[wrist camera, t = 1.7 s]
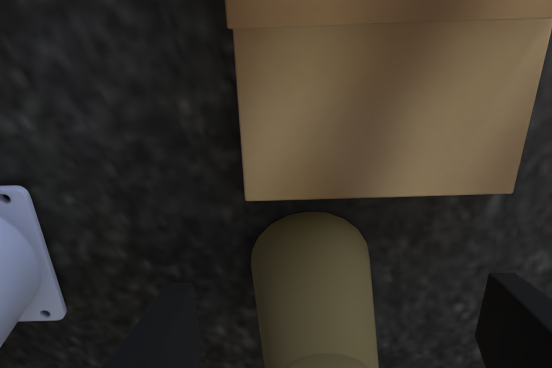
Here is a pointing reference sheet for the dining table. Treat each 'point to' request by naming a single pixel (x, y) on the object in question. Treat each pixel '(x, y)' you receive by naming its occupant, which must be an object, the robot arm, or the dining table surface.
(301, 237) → the olive peg figure
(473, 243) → the dining table surface
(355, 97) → the wooden stepped pedestal
